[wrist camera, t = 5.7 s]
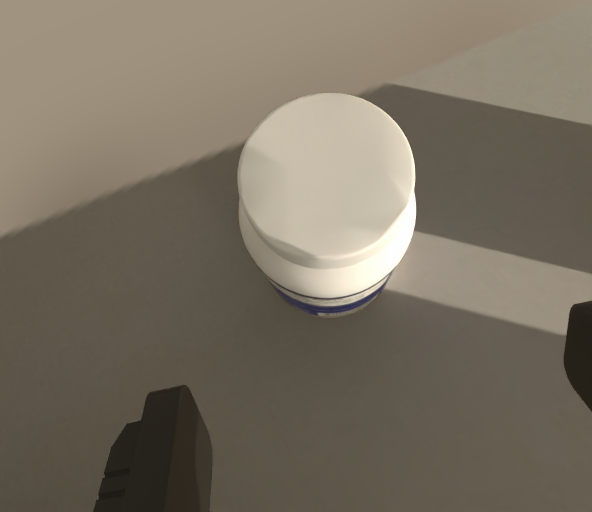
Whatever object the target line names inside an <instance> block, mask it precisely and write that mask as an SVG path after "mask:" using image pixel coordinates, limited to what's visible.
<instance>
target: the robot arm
mask: <svg viewBox="0 0 592 512" xmlns="http://www.w3.org/2000/svg"><path fill="white" fill-rule="evenodd" d="M564 367H565V371H566V374H567V377H568V379H569V381H570V383H571V385H572V387H573V388H574V390H575V391H576V392H577V394H578V395H579V396H580V397H581V399H582V400H583V401H584V403H585V404H586V405H587V406H588V408H589V409H590V410H591V411H592V301H588V302H583V303H578V304H574V305H573V306H572V307H571V310H570V314H569V321H568V329H567V336H566V344H565V351H564ZM212 461H213V458H212V446H211V440H210V436H209V433H208V430H207V428H206V425H205V423H204V421H203V419H202V416H201V414H200V412H199V410H198V407H197V405H196V403H195V400H194V398H193V396H192V394H191V391H190V389H189V388H188V387H187V386H186V385H182V386H177V387H173V388H168V389H163V390H158V391H154V392H150V393H149V394H148V396H147V398H146V402H145V406H144V411H143V415H142V419H141V421H137V422H133V423H128V424H127V425H126V426H125V428H124V429H123V431H122V432H121V434H120V435H119V437H118V438H117V440H116V441H115V443H114V444H113V446H112V447H111V450H110V453H109V457H108V461H107V464H106V468H105V472H104V474H105V477H104V478H103V479H102V483H101V486H100V490H99V493H98V495H99V499H98V500H97V501H96V504H95V508H94V512H209V510H210V494H211V478H212Z"/></svg>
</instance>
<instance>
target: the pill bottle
mask: <svg viewBox="0 0 592 512" xmlns="http://www.w3.org/2000/svg"><path fill="white" fill-rule="evenodd" d="M237 184H238V191H239V197H240V200H239V224H240V229H241V234H242V237H243V240H244V243H245V245H246V248H247V250H248V252H249V253H250V255H251V257H252V259H253V260H254V262H255V263H256V265H257V266H258V268H259V269H260V270H261V271H262V272H263V274H264V275H265V276H266V278H267V279H268V280H269V282H270V283H271V284H272V286H273V287H274V288H275V290H276V291H277V292H278V293H279V295H280V296H281V297H282V298H283V299H284V300H285V301H286V302H288V303H289V304H290V305H292V306H293V307H294V308H296V309H298V310H300V311H302V312H304V313H307V314H309V315H313V316H318V317H326V318H335V317H341V316H346V315H349V314H352V313H355V312H357V311H359V310H361V309H362V308H364V307H366V306H367V305H368V304H370V303H371V302H372V301H373V300H374V299H375V298H376V297H377V296H378V295H379V294H380V293H381V291H382V290H383V288H384V287H385V285H386V284H387V282H388V280H389V279H390V277H391V275H392V273H393V272H394V270H395V268H396V266H397V265H398V264H399V262H400V260H401V258H402V257H403V255H404V253H405V251H406V249H407V248H408V246H409V243H410V240H411V237H412V234H413V230H414V226H415V220H416V199H415V194H414V186H415V164H414V158H413V154H412V150H411V148H410V145H409V143H408V141H407V138H406V137H405V135H404V133H403V132H402V130H401V129H400V127H399V126H398V124H397V123H396V122H395V121H394V120H393V119H392V118H391V117H390V116H389V115H388V114H387V113H386V112H384V111H383V110H381V109H380V108H379V107H377V106H376V105H374V104H372V103H370V102H369V101H366V100H364V99H361V98H358V97H355V96H351V95H348V94H342V93H331V92H330V93H329V92H326V93H315V94H309V95H305V96H302V97H298V98H296V99H293V100H290V101H288V102H286V103H285V104H282V105H280V106H279V107H277V108H276V109H275V110H273V111H271V112H270V113H269V114H268V115H267V116H265V117H264V118H263V119H262V120H261V121H260V122H259V123H258V124H257V126H256V127H255V129H254V130H253V131H252V132H251V134H250V136H249V138H248V139H247V141H246V143H245V145H244V148H243V150H242V153H241V156H240V160H239V166H238V173H237Z"/></svg>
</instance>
